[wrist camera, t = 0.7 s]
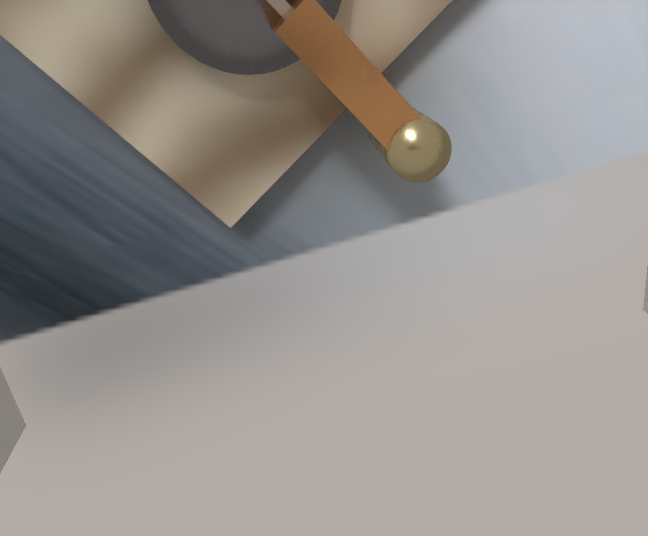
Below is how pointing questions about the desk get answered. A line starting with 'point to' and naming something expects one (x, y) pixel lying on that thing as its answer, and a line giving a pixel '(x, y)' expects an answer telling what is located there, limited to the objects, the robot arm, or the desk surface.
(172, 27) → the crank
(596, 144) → the desk surface
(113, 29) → the panel
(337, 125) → the desk surface
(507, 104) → the desk surface
